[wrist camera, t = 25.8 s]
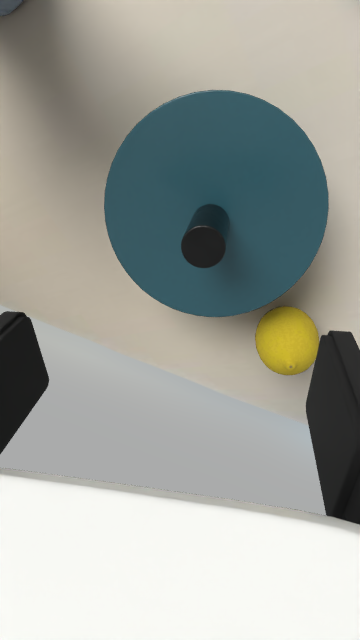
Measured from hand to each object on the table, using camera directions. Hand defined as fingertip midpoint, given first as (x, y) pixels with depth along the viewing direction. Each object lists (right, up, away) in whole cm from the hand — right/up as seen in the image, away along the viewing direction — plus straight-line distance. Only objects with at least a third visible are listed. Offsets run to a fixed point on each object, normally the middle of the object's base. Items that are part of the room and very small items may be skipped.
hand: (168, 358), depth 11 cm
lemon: (+11, +2, +24) cm, 26 cm away
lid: (+3, +8, +13) cm, 16 cm away
